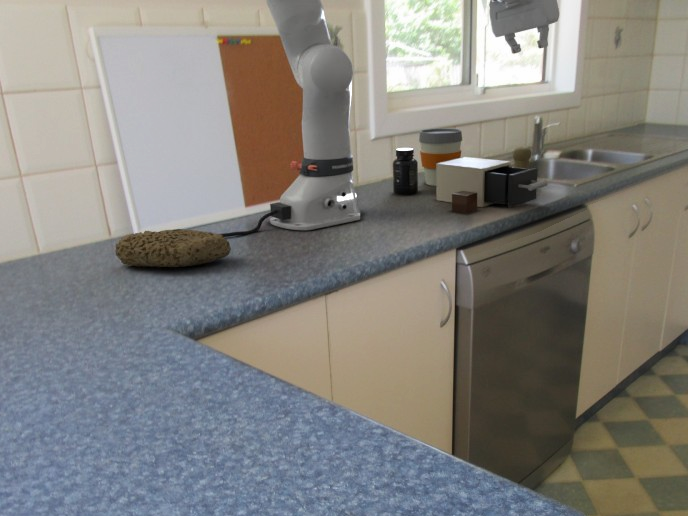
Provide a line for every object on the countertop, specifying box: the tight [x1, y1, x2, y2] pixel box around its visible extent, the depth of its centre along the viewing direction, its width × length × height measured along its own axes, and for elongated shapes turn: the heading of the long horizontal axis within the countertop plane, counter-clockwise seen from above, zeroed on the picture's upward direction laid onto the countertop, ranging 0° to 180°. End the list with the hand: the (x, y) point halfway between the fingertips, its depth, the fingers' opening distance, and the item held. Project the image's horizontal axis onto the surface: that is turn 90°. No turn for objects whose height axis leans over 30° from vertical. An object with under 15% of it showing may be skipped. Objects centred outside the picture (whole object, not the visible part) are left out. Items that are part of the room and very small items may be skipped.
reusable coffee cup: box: [418, 127, 463, 187], centre depth 194 cm, size 13×12×15 cm
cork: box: [511, 146, 532, 170], centre depth 185 cm, size 6×6×11 cm
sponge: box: [114, 228, 232, 268], centre depth 126 cm, size 13×8×20 cm
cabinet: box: [436, 156, 512, 208], centre depth 172 cm, size 15×13×10 cm
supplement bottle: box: [392, 147, 419, 196], centre depth 182 cm, size 7×7×12 cm
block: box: [451, 191, 478, 215], centre depth 161 cm, size 4×4×4 cm
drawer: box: [484, 166, 549, 208], centre depth 166 cm, size 18×11×8 cm, turn 49°
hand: (529, 50), depth 156 cm, fingers open, 8 cm apart
